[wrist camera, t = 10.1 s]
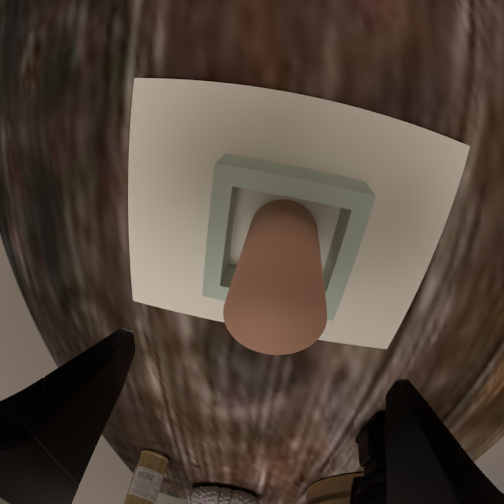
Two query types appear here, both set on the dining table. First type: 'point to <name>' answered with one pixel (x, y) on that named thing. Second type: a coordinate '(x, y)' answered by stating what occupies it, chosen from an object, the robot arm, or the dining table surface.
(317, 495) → the wooden container
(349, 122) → the socket board
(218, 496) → the sea urchin shell
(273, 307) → the terracotta peg
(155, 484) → the sprinkles bottle
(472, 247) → the dining table surface
